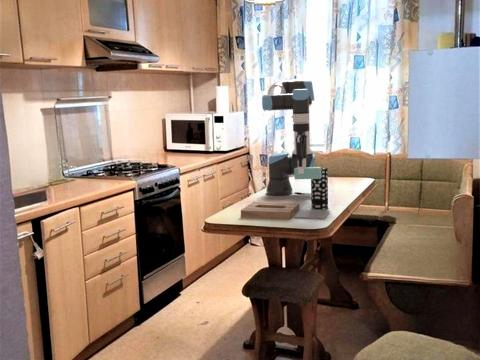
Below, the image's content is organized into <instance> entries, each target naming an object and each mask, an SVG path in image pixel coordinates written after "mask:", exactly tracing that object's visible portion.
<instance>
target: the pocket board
mask: <svg viewBox="0 0 480 360" xmlns="http://www.w3.org/2000/svg"><path fill="white" fill-rule="evenodd" d="M300 209H301V208H300V202H283V201H281V202H279V201H278V202H277V201H252V202H251V203H249V204H248V205H246V206H245V207H244V208H242V209H240V218H243V219H244V217H245V218H247V219H248V218H249V219H271V220H291V219H292V218H293V217H295V216H296V215H297V214H298V213H299V212H300V211H301V210H300Z"/></svg>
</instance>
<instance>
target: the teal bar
mask: <svg viewBox="0 0 480 360" xmlns="http://www.w3.org/2000/svg"><path fill="white" fill-rule="evenodd" d="M293 176H294V180H311V179H320V178H321V177H322V175H321V166H314V167H304V174H298V168H295V169H294V175H293Z"/></svg>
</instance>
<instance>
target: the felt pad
mask: <svg viewBox="0 0 480 360" xmlns="http://www.w3.org/2000/svg"><path fill="white" fill-rule="evenodd" d="M329 212H330V210H307V209H301V210H299V211H298V212H297V213H296V214H295V215H294V219H304V218H305V219H308V220H309V219H310V220H325V219H326V218H327V217H328V215H329V214H330V213H331V212H330V213H329Z"/></svg>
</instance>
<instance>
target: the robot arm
mask: <svg viewBox="0 0 480 360" xmlns="http://www.w3.org/2000/svg"><path fill="white" fill-rule="evenodd" d="M313 87H314V86H313V81H312V80H311V79H302V78H301V79H291V80H289V79H288V80H281V81H278V82H275V83H273V84H272V85H271V86H269V88H268V90H267V94H263V95H262V97H261V99H262V100H261V105H262V106H261V107H262V110H264V111H268V112H269V111H283V110H284V111H287V110H289V111H291V110H292V115H291V118H292V122H293V124H292V131H293V132H294V134H293V135H294V149H293V150H292V151H291V154H289V152H286V151H285V152H278V153H274V154H270V155H269V157H268V184H267V186H266V194H267V195H269V196H287V195H291V194H293V187H292V183H291V182H290V176H294V169H295V168H298V174H304V167H315V164H316V154H314V153H313V150H312V149H311V143H310V142H311V134H310V129H311V128H310V107H311V106H312V104H313V102H314V101H315V95H314V88H313Z"/></svg>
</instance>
